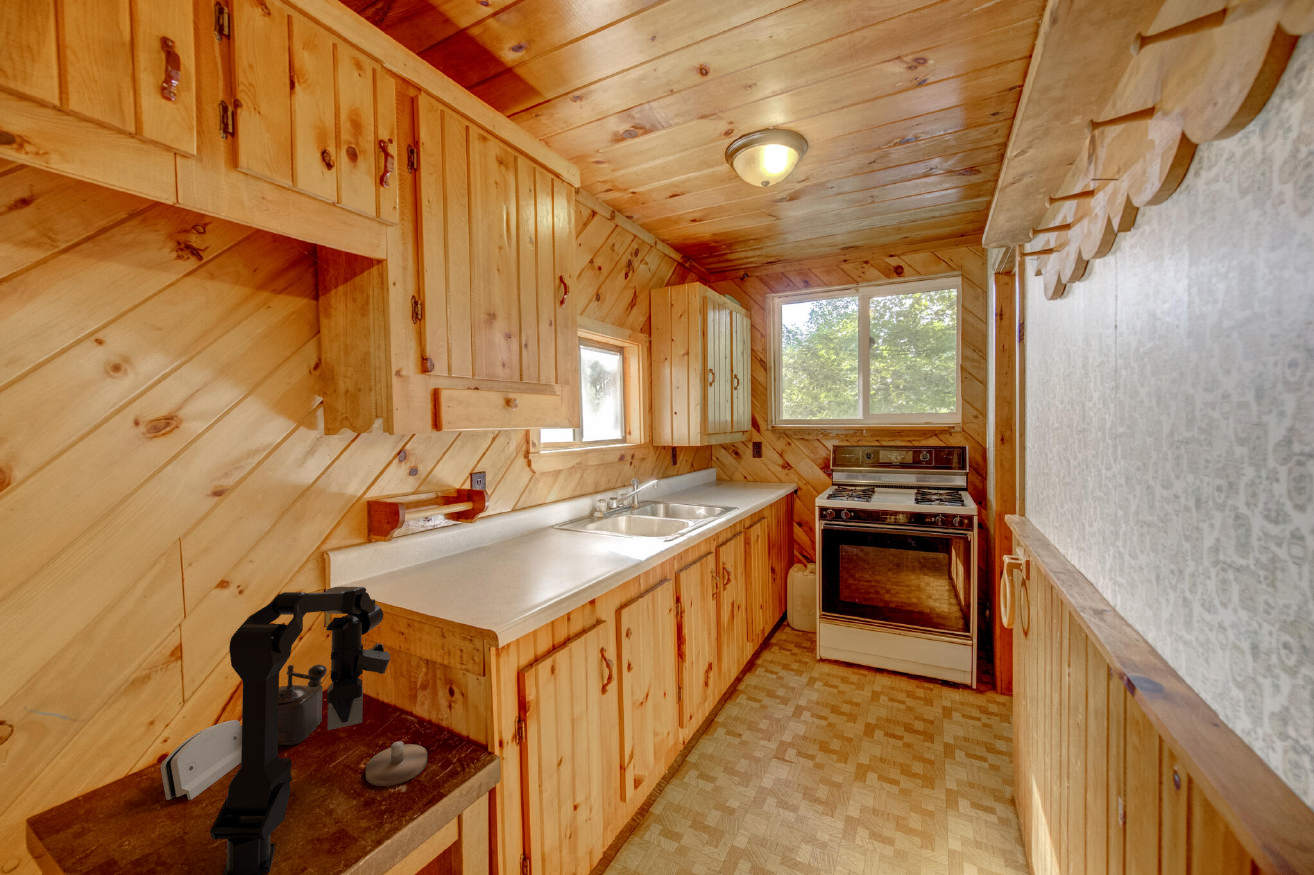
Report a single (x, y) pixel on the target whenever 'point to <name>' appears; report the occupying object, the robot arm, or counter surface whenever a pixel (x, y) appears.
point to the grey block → (354, 715)
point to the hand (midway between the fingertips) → (345, 714)
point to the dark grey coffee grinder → (300, 706)
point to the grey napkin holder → (202, 760)
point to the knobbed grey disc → (396, 764)
